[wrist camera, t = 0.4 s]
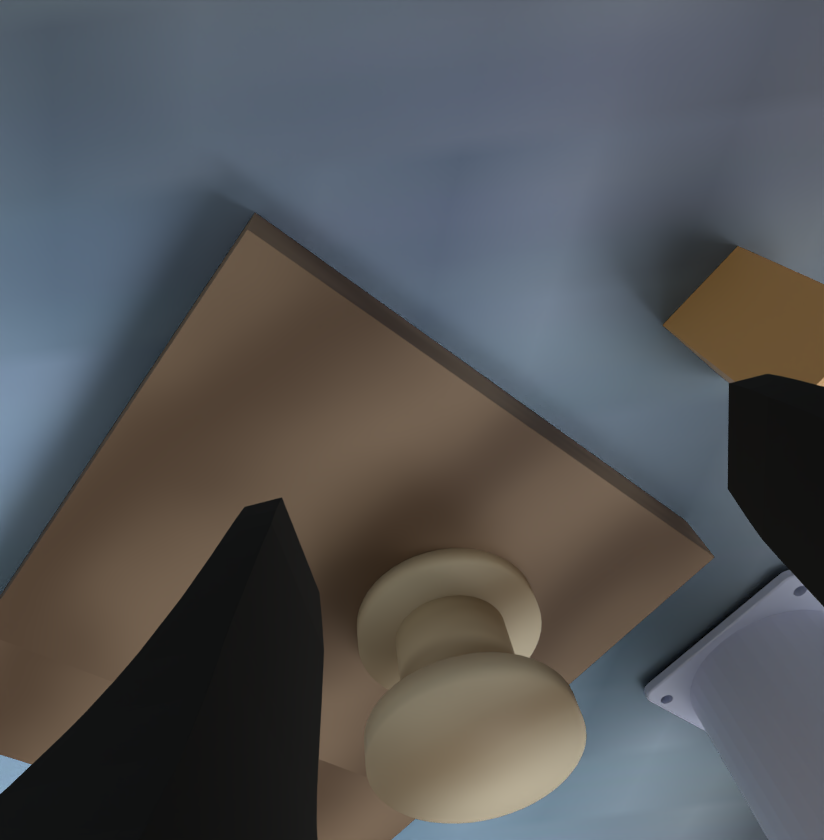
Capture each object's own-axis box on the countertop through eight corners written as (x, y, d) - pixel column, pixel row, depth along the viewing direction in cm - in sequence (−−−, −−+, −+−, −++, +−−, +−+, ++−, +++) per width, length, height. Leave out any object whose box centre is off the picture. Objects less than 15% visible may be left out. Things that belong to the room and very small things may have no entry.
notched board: (686, 521, 24) (714, 557, 22) (358, 820, 30) (360, 866, 29) (255, 212, 17) (247, 229, 16) (-55, 678, 23) (-86, 727, 22)
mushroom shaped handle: (570, 597, 22) (631, 727, 18) (457, 703, 24) (486, 844, 20) (434, 518, 20) (465, 644, 16) (320, 641, 22) (320, 785, 18)
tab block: (795, 304, 21) (958, 388, 15) (721, 377, 21) (851, 479, 16) (738, 245, 19) (892, 314, 14) (662, 325, 20) (781, 417, 15)
